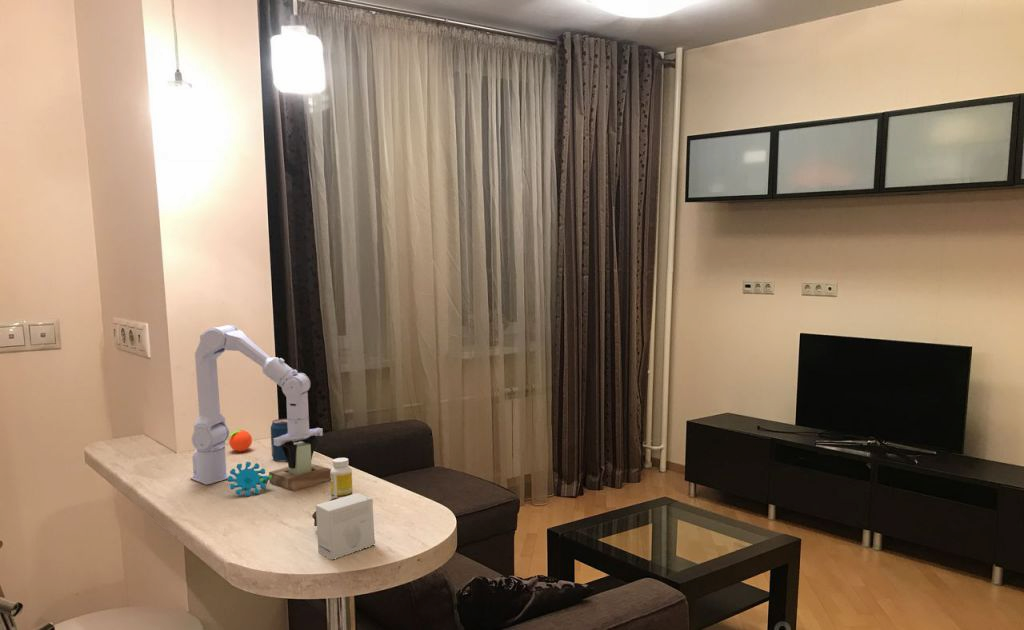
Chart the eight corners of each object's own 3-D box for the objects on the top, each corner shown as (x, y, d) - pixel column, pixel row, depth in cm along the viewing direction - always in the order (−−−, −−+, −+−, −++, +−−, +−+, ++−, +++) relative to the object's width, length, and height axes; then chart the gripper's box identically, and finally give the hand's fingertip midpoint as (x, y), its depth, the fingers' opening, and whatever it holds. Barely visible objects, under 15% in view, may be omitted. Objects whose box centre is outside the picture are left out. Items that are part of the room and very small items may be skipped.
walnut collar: (269, 482, 195) (269, 471, 195) (306, 471, 204) (306, 461, 204) (294, 490, 188) (293, 480, 187) (331, 479, 197) (331, 469, 197)
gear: (227, 494, 181) (228, 460, 187) (225, 505, 185) (226, 471, 191) (272, 493, 185) (272, 460, 192) (269, 504, 189) (269, 471, 196)
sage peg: (288, 476, 196) (287, 444, 195) (302, 472, 199) (301, 441, 198) (297, 479, 193) (296, 447, 192) (311, 475, 196) (310, 444, 195)
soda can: (299, 457, 220) (298, 419, 219) (282, 462, 214) (280, 424, 213) (285, 454, 224) (283, 417, 223) (267, 459, 218) (265, 421, 217)
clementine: (235, 456, 222) (234, 434, 222) (222, 453, 226) (221, 431, 226) (256, 450, 229) (255, 428, 229) (243, 447, 233) (242, 426, 232)
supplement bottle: (356, 494, 184) (355, 458, 183) (343, 501, 179) (342, 463, 178) (340, 492, 186) (338, 455, 185) (326, 498, 181) (325, 461, 180)
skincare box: (360, 537, 155) (358, 491, 154) (375, 546, 151) (374, 498, 150) (316, 551, 148) (314, 503, 147) (331, 560, 143) (329, 511, 143)
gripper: (283, 424, 186) (285, 474, 187) (328, 414, 198) (330, 461, 199) (268, 421, 191) (270, 470, 192) (313, 411, 202) (315, 457, 203)
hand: (299, 465), depth 196 cm, fingers closed on sage peg, 4 cm apart
